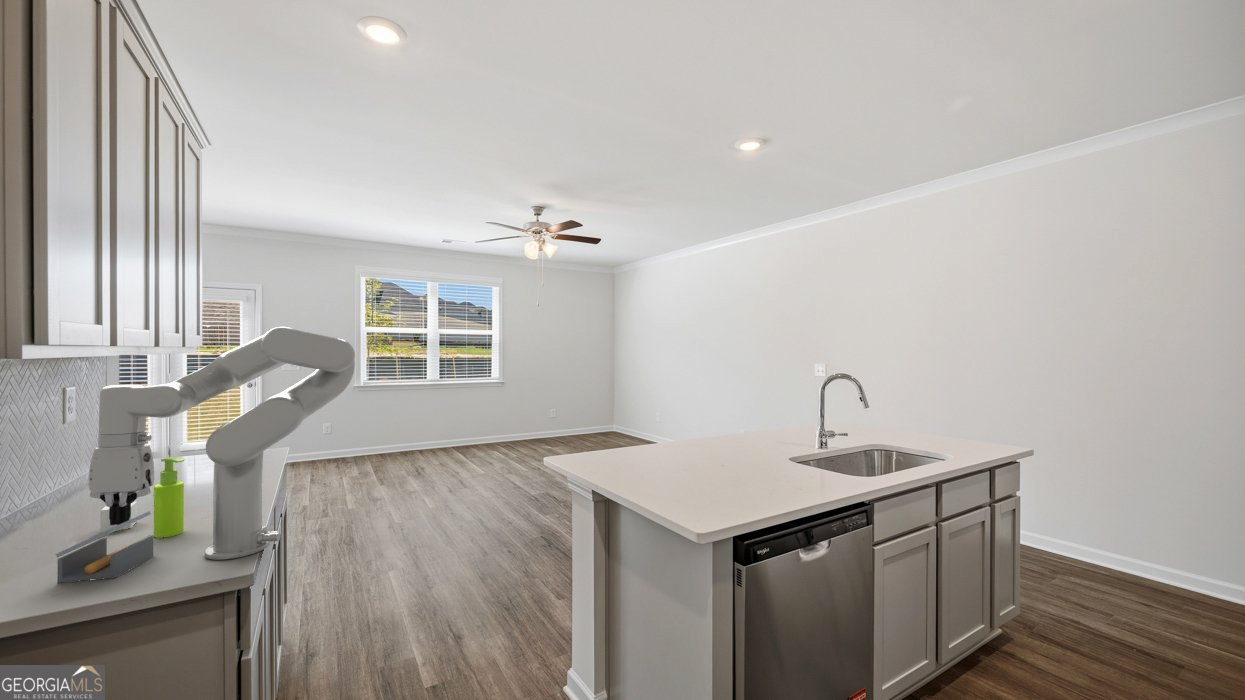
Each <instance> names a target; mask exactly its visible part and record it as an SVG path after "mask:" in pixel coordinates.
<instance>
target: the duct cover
mask: <svg viewBox="0 0 1245 700" xmlns="http://www.w3.org/2000/svg"><path fill="white" fill-rule="evenodd" d="M151 515H152V513H151V511H150V510H149V511H146V512H145V513H142V514H140V515H137V517H135V518H133V519H131V520H129V521H126V522H124V523H122V524H120V525H117V526H115V527H113V528H111V529H108V530H106V531H104V532H101V533H100V532H99V533H98V534H96V535H93V536H91V537H89V538H87V539H85V540H83V541H81V542H78V543H77V544H75V545H73V546H69V547H68V548H66V549H64V550H61V551H59V552H57V553H55V556H56V557H57V558H61V556H62V557H63V556H65V555H67V554H70V553H72V552H74V551H76V550H78V549H80V548H82V547H85V546H87V545H89V544H91V543H93V542H95V541H98V540H100V539H102V538H104V537H106V536H108V535H109V534H112V533H114V532H116V531H119V530H118V529H121V528H123V527H125V526H127V525H129V524H131V523H133V522H135V521H137V522H138V521H139V520H142V519H144V518H146V517H148V516H151Z"/></svg>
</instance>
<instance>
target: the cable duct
mask: <svg viewBox="0 0 1245 700" xmlns="http://www.w3.org/2000/svg"><path fill="white" fill-rule="evenodd" d="M107 544H108V540H107V537H101V538H99V539H97V540H95V541H93V542H90V543H88V544H86V545H84V546H82V547H80V548H77V549H75V550H73V551H71V552H69V553H66V554H64V555H62V557H61V556H60V557H58V558H57V579H56V580H57V584H62V583H61V582H65V583H71V582H70V581H77V582H80V581H79V580H90V579H102V580H106V579H105V578H115V577H117V576H118V577H120V576H122V575H123V574H125V573H127V572H129V571H130V570H132V569H134V568H136V567H137V566H139V565H141V564H143V563H144V562H146V561H148V560H149V559H151V558H153V557H154V534H151V535H150V534H148V536H145V537H143V538H142V539H139V540H137V541H135V542H133V543H131V544H130V545H127V546H122V547H121V548H118V549H117V550H115V551H113V552H111V553H109V554H108V552H107V550H108V549H107V547H108V545H107ZM152 556H153V557H152ZM150 557H151V558H150ZM147 559H148V560H147ZM145 560H146V561H145ZM140 563H141V564H140ZM138 564H139V565H138ZM136 565H137V566H136ZM135 566H136V567H135ZM133 567H134V568H133ZM131 568H132V569H131ZM129 569H130V570H129ZM128 570H129V571H128ZM126 571H127V572H126ZM124 572H125V573H124ZM121 574H122V575H121ZM119 575H120V576H119ZM118 577H117V578H118ZM103 578H104V579H103ZM115 579H116V578H115ZM90 581H91V580H90Z"/></svg>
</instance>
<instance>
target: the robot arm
mask: <svg viewBox="0 0 1245 700" xmlns="http://www.w3.org/2000/svg"><path fill="white" fill-rule="evenodd" d="M355 358H356V354H355V349H354V347H353V346H352V345H351V343H349V342H348V341H347V340H345V339H342V338H338V337H333V336H328V335H325V334H324V335H323V334H319V333H318V334H317V333H312V332H309V331H305V330H304V331H303V330H300V329H295V328H292V327H289V326H288V327H287V326H279V327H277V326H276V327H274V328H271V329H270V330H268V331H267V332H266V333H265V334H263V335H261V336H259V337H257V338H254V339H252V340H249V342H246V343H243V344H242V345H239V346H237V347H235V348H232V349H230V350H228V351H226V352H224V353H221V354H220V355H219V356H218V357H216V358H215V359H214V360H213V361H212V362H210V363H209V364H206V365H204V366H203V367H201V368H199V369H197V370H195V371H193V372H190V373H189V374H187V375H185V376H182V377H180V378H178V379H175V380H173V381H171V382H168V383H162V384H157V385H149V386H148V385H147V386H143V385H141V384H113V385H106V386H104V387H102V388H101V389H100V392H99V403H98V404H99V406H98V407H99V408H98V409H99V410H98V435H97V436H98V439H97V440H98V441H97V443H98V444H97V447H95V448H94V450H93V453H92V457H91V459H90V464H89V465H90V466H89V472H88V481H87V482H88V486H87V487H88V490H89V492H90V493H89V498H92V499H93V498H94V499H98V500H99V499H100V500H101V501H103V502H104V503H105V506H107V507H110V508H109V520H110V525H115V524H116V525H120V524H122V523H124V522H126V521H129V518H130V516H131V503H133V502H135V501H137V499H138V498H141V497H146V496H148V495H150V494H151V493H152V492H151V487H153V486H154V484H155V465H154V456H153V450H152V448H151V445H150V444H146V443H147V442H149V441H151V440H152V435H151V434H148V433H147V431H146V429H147V418H159V419H162V418H163V419H164V418H171V417H174V416H177V415H179V414H181V413H184V412H186V411H188V410H190V409H192V408H195V407H197V406H198V405H200V404H202V403H204V402H206V401H208V400H211V399H213V398H215V397H217V396H219V395H221V394H223V393H225V392H227V391H230V390H232V389H235V388H239V387H241V386H243V385H245V384H247V383H249V382H251V381H253V380H255V379H257V378H259V377H261V376H263V375H266V374H268V373H269V372H271V371H274V370H276V369H278V368H280V367H283V366H284V365H287V364H288V365H291V366H298V367H302V368H303V367H304V368H309V369H313V370H314V369H315V371H314V372H312V373H310V374H309V375H308V376H306V377H305V378H302V379H301V380H300V381H298V382H296V383H295V384H294V385H291V386H290V387H288V388H287V389H285V390H283V391H281V392H279V393H276V394H273V395H272V396H269V397H268V398H267V399H265V400H264V401H262V402H260V403H259V404H257V405H255V406H254V407H252V408H250V409H248V410H247V411H245V412H243V413H242V414H241V415H238V416H237V417H235V418H234V419H232V420H229V421H227V422H225V423H223V424H222V425H220V426H219V427H218V428H216V429H215V430H214V431H213V432H212V433H211V434H209V436H208V438H207V440H206V443H205V452H206V455H207V457H208V459H209V460H211V462H213V464H214V465H213V485H212V486H213V487H212V488H213V490H212V497H213V498H212V504H213V505H212V508H213V511H212V517H213V519H212V530H213V531H212V545H210V546H208V547H206V548H205V550H204V557H205V558H206V559H208V560H214V561H215V560H217V561H219V560H232V559H237V558H238V559H239V558H241V557H242V558H243V557H246V556H250V555H253V554H257V553H259V552H261V551H263V550H265V549H266V548H268V547H269V546H270V543H271V542H279V541H280V540H281V533H280V531H279V530H273V531H269V530H268V526H267V525H263V483H264V482H263V479H264V478H263V475H264V474H263V473H264V472H263V471H264V470H263V469H264V451H266V450H267V449H269V448H271V447H272V446H273V445H275V444H277V443H278V442H279V441H281V440H283V439H285V438H286V437H287V436H289V435H291V434H292V433H293V432H295V431H296V430H297V429H298V428H299V427H300V425H301V424H302V422H303V421H304V420H306V419H307V418H308V417H310V416H312V415H313V414H314V413H316V412H317V411H319V410H320V409H322V408H324V407H325V406H326V405H327V404H329V403H331V402H332V401H334V400H335V399H336V398H337V397H339V396H340V395H341V394H343V392H344V391H345V390H346V388H348V386H349V385H350V383H351V381H352V379H353V377H354V372H355V365H356V364H355V362H356V361H355Z"/></svg>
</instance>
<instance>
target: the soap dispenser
mask: <svg viewBox="0 0 1245 700" xmlns="http://www.w3.org/2000/svg"><path fill="white" fill-rule="evenodd" d="M184 461H185V459H183V458H181V457H167V458H161V459H160V462H164V469H163V470H162V471H160V477H159V478H160V483H157V484H155V485H153V538H155V537H156V539H163V537H164V538H169V537H174V536H177V535H180V534H182V533H184V522H185V521H184V513H185V512H184V511H185V510H184V505H185V504H184V500H185V499H184V498H185V497H184V496H185V495H184V491H185V490H184V489H185V488H184V487H185V485H184V483H185V482H184V481H179V480H178V469H175V468H174V463H175V464H176V463H177V464H178V463H182V462H184Z"/></svg>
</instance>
